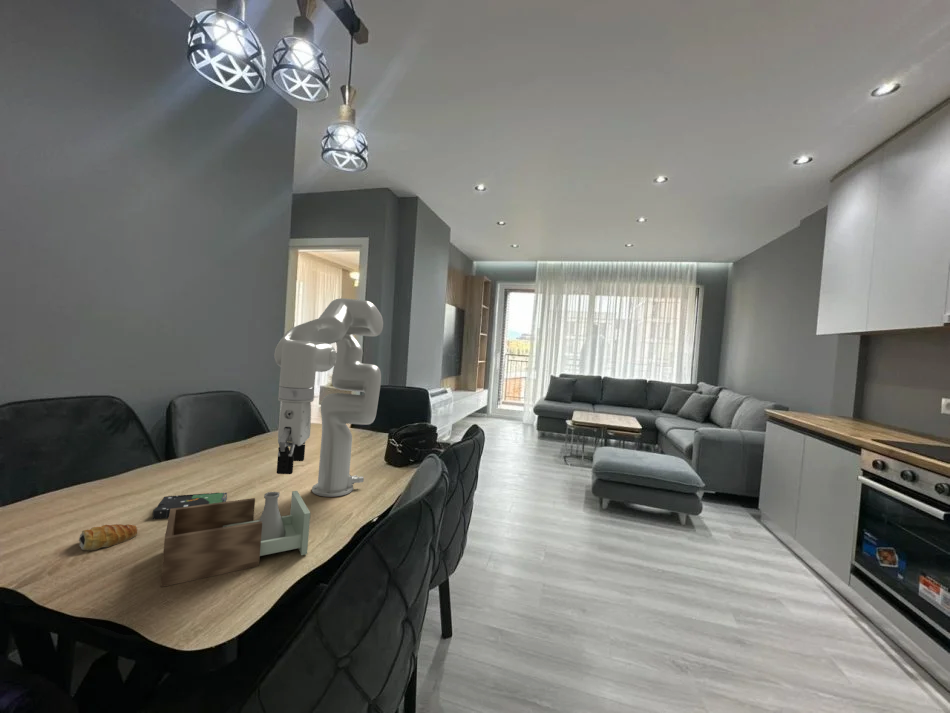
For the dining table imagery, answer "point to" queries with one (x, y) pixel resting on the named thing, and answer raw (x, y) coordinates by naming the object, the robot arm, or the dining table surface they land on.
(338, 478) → the robot arm
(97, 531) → the pastry
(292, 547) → the tray
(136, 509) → the dining table surface
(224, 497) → the disk drive
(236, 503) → the caddy
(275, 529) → the flask
